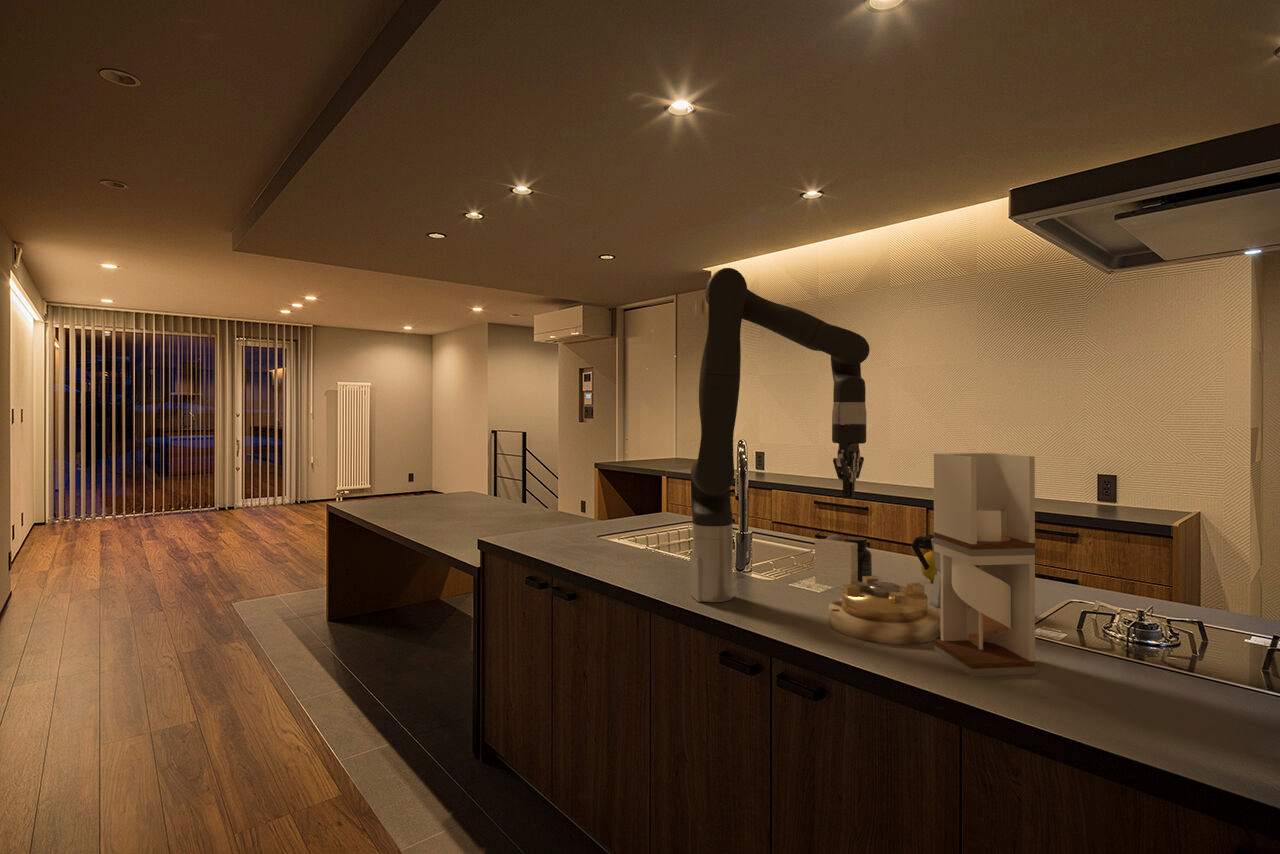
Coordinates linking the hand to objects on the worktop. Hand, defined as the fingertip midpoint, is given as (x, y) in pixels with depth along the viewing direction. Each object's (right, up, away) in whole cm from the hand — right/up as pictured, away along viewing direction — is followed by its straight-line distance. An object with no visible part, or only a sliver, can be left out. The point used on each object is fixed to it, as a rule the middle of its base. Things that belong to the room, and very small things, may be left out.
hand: (848, 498), depth 150 cm
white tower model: (+10, -24, -39) cm, 47 cm away
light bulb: (+5, -23, +26) cm, 35 cm away
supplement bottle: (+5, -23, +10) cm, 26 cm away
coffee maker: (+20, -23, -5) cm, 31 cm away
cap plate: (+1, -23, -20) cm, 31 cm away
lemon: (+26, -23, +14) cm, 37 cm away
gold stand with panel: (-2, -20, -18) cm, 27 cm away
